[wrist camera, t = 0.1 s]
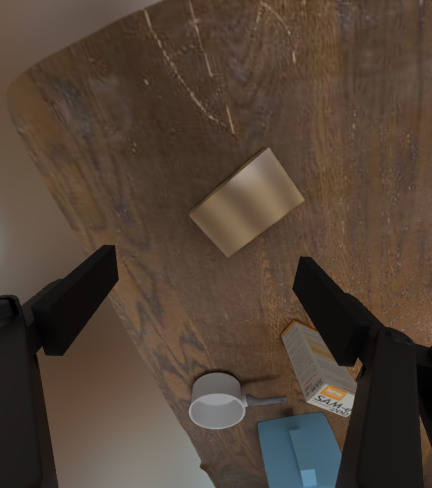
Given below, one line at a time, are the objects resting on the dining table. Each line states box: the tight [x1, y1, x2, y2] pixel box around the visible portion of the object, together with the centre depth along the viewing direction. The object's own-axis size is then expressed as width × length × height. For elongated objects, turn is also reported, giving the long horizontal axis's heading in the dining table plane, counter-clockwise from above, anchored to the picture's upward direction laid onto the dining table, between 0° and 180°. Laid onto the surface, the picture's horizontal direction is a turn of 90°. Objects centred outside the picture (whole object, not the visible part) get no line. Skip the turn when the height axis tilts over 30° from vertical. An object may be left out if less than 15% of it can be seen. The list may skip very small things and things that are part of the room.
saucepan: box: [189, 373, 287, 429], centre depth 47 cm, size 12×20×6 cm, turn 103°
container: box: [258, 412, 342, 488], centre depth 50 cm, size 17×25×15 cm
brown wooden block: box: [189, 147, 305, 258], centre depth 33 cm, size 14×9×3 cm, turn 130°
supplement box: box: [281, 320, 357, 417], centre depth 38 cm, size 8×5×13 cm, turn 60°
